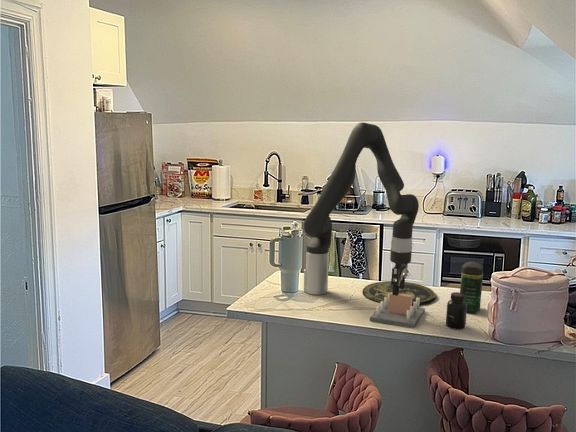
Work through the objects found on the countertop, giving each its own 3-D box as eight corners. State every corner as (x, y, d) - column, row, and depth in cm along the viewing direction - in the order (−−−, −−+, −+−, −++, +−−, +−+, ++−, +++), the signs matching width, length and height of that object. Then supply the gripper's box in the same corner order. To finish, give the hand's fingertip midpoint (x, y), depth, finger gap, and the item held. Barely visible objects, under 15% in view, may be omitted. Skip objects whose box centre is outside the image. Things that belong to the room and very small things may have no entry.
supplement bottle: (444, 328, 211) (446, 295, 209) (446, 322, 217) (448, 290, 215) (464, 331, 208) (467, 298, 206) (466, 324, 215) (468, 292, 213)
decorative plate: (376, 277, 267) (444, 287, 254) (376, 281, 268) (443, 291, 254) (351, 295, 241) (425, 308, 228) (351, 300, 242) (425, 312, 228)
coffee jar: (479, 315, 225) (482, 267, 222) (457, 312, 228) (460, 264, 225) (481, 307, 234) (484, 261, 231) (460, 304, 237) (463, 259, 233)
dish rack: (369, 320, 217) (370, 306, 216) (383, 305, 234) (384, 292, 233) (413, 328, 210) (414, 313, 209) (424, 311, 227) (425, 298, 226)
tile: (388, 312, 222) (389, 293, 221) (390, 310, 224) (391, 292, 223) (410, 315, 219) (411, 297, 218) (411, 313, 221) (412, 295, 220)
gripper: (396, 243, 225) (393, 285, 228) (385, 251, 212) (383, 295, 215) (415, 246, 222) (412, 288, 225) (406, 254, 209) (403, 299, 212)
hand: (398, 291), depth 220 cm, fingers open, 8 cm apart
